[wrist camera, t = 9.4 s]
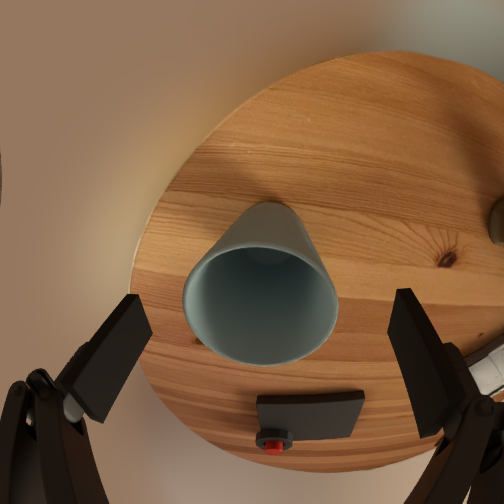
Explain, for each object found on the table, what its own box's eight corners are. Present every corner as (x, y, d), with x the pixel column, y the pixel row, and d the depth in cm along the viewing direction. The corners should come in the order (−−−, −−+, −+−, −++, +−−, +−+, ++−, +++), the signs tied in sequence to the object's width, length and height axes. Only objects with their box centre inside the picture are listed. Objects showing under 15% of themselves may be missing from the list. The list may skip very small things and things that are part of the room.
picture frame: (460, 359, 27) (451, 412, 33) (465, 369, 25) (454, 420, 31) (525, 318, 23) (506, 380, 29) (531, 326, 21) (509, 387, 27)
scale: (259, 435, 38) (257, 450, 35) (251, 395, 32) (248, 413, 29) (348, 432, 35) (349, 446, 33) (363, 390, 30) (367, 408, 27)
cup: (321, 270, 23) (338, 360, 14) (235, 280, 25) (207, 368, 15) (311, 182, 20) (334, 232, 11) (214, 197, 22) (161, 255, 12)
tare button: (266, 445, 34) (265, 454, 33) (265, 439, 33) (264, 448, 32) (282, 445, 34) (282, 455, 32) (282, 439, 33) (282, 449, 31)
